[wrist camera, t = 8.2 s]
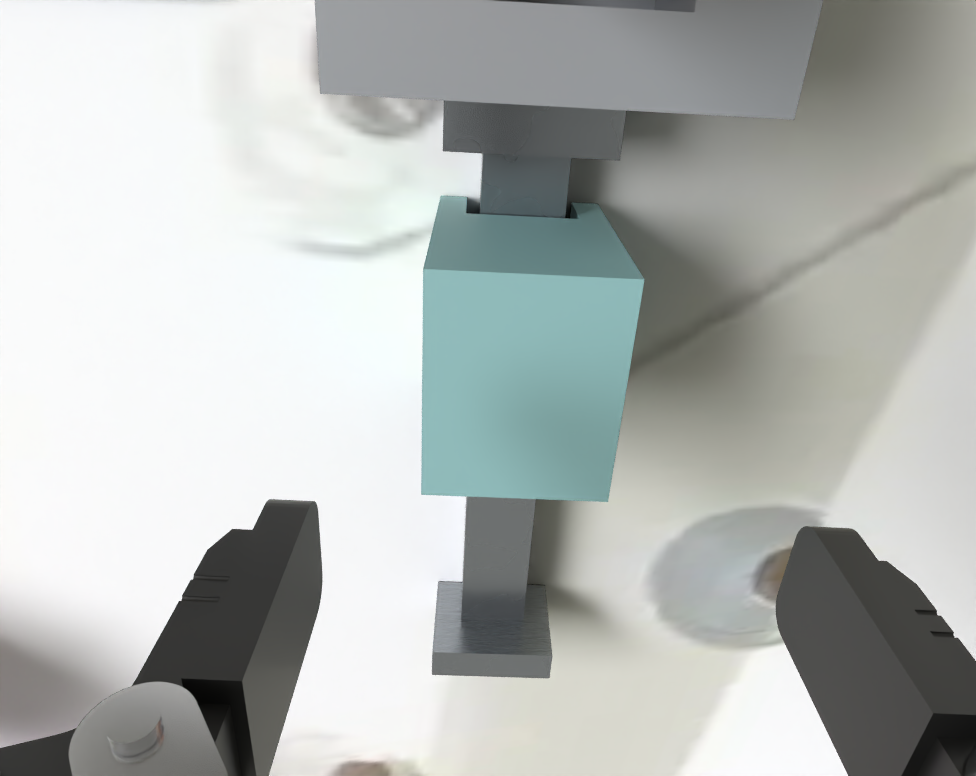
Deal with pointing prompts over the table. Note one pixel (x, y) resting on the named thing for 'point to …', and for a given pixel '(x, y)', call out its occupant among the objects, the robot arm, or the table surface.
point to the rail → (509, 521)
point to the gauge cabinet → (573, 53)
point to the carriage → (525, 353)
